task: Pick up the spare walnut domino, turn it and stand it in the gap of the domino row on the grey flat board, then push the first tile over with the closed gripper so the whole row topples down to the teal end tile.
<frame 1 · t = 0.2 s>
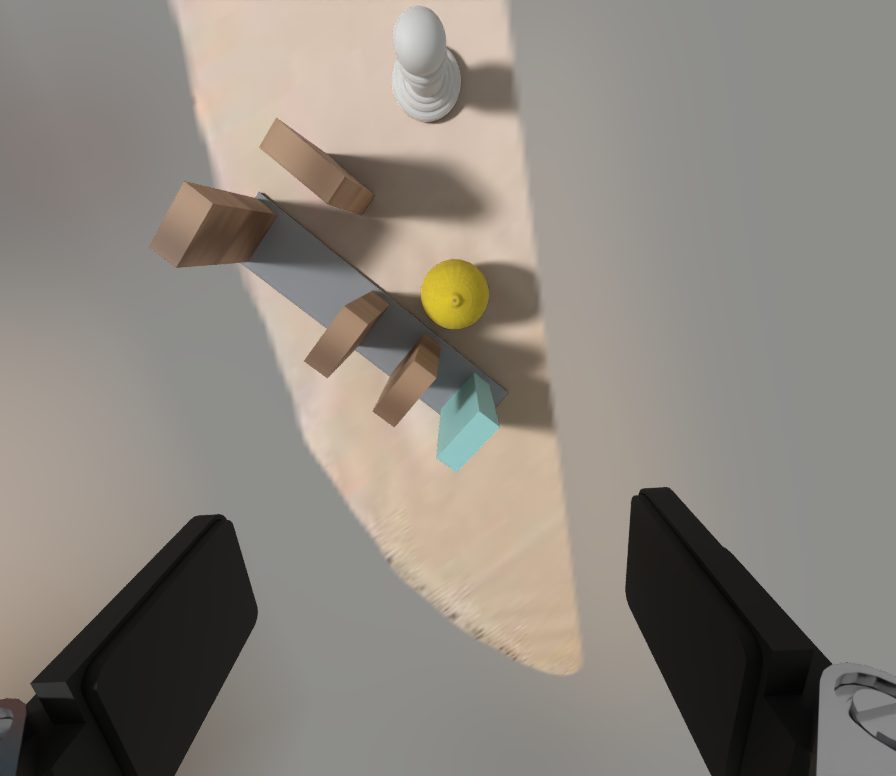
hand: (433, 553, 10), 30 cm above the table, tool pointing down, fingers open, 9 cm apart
lemon: (454, 289, 38), on the table
chess piece: (426, 85, 33), on the table
domino 4: (416, 359, 39), resting on grey flat board
grey flat board: (373, 324, 39), on the table
domino end: (464, 396, 41), resting on grey flat board
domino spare: (344, 184, 35), on the table
domino 1: (252, 231, 36), resting on grey flat board
domino 3: (365, 319, 38), resting on grey flat board
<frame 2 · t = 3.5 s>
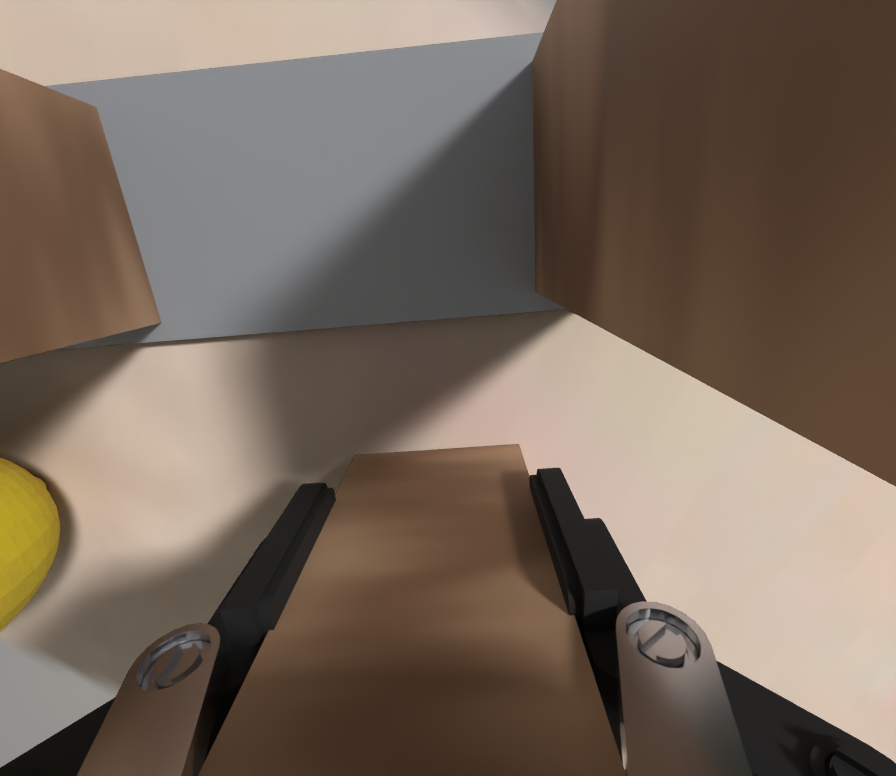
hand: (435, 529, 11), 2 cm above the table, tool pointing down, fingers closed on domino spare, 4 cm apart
lemon: (45, 480, 13), on the table
grey flat board: (69, 230, 11), on the table
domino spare: (439, 478, 13), on the table, touching gripper
domino 1: (576, 182, 10), resting on grey flat board
domino 3: (93, 226, 10), resting on grey flat board
when the fingers open (3 cm above the table, at t = 8.5 s): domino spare stays where it is, resting on grey flat board.
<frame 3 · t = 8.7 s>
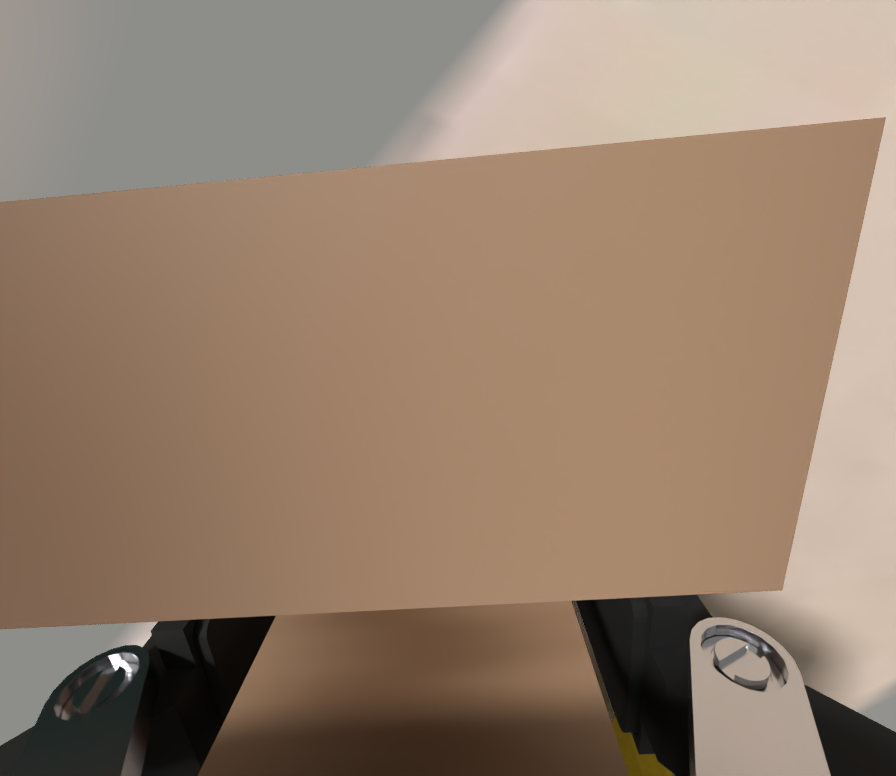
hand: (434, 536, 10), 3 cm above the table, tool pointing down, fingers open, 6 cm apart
lemon: (641, 688, 17), on the table
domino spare: (439, 471, 13), resting on grey flat board
domino 1: (419, 279, 11), resting on grey flat board
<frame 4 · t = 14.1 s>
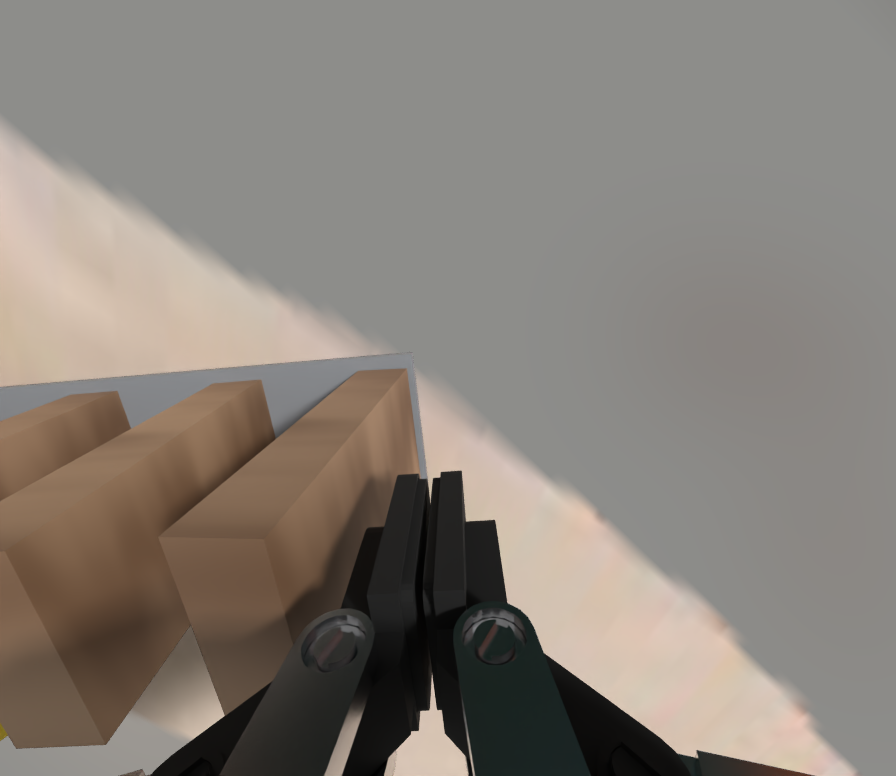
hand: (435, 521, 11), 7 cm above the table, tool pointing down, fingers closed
grey flat board: (100, 445, 18), on the table
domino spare: (251, 437, 17), resting on grey flat board
domino 1: (390, 427, 17), resting on grey flat board, tilted 7°, touching gripper
domino 3: (114, 447, 18), resting on grey flat board
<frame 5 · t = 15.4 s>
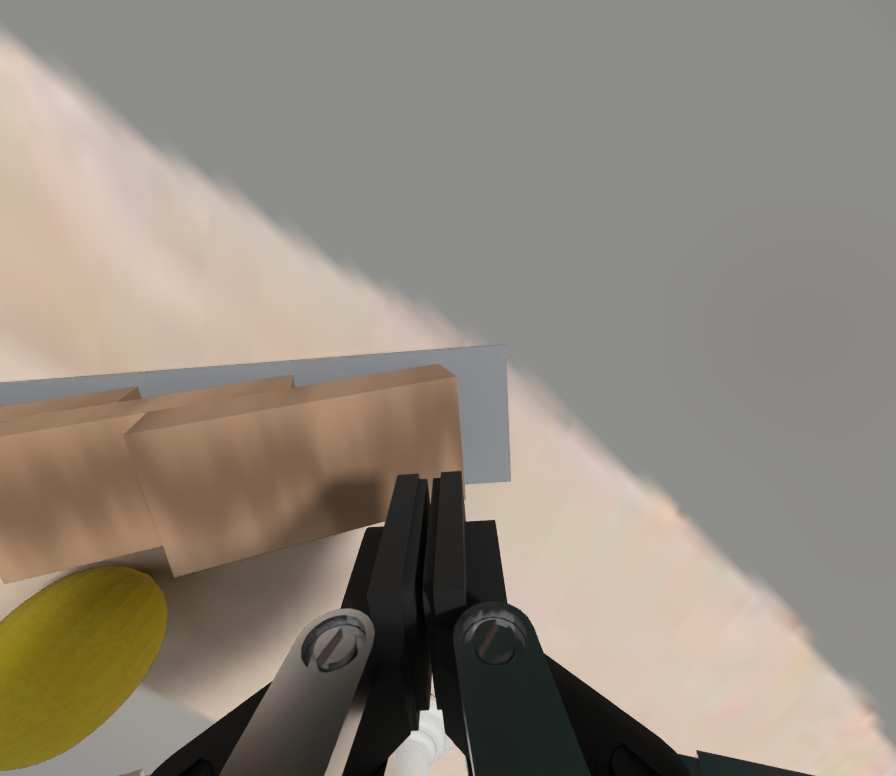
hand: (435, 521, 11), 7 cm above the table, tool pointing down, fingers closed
lemon: (149, 573, 21), on the table
chess piece: (408, 714, 23), on the table
grey flat board: (179, 437, 18), on the table
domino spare: (304, 441, 16), point 1 cm above the table, tilted 71°, touching domino 1, domino 3, grey flat board
domino 1: (452, 431, 16), point 1 cm above the table, tilted 70°, touching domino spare, grey flat board
domino 3: (148, 451, 17), point 1 cm above the table, tilted 70°, touching domino 4, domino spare, grey flat board
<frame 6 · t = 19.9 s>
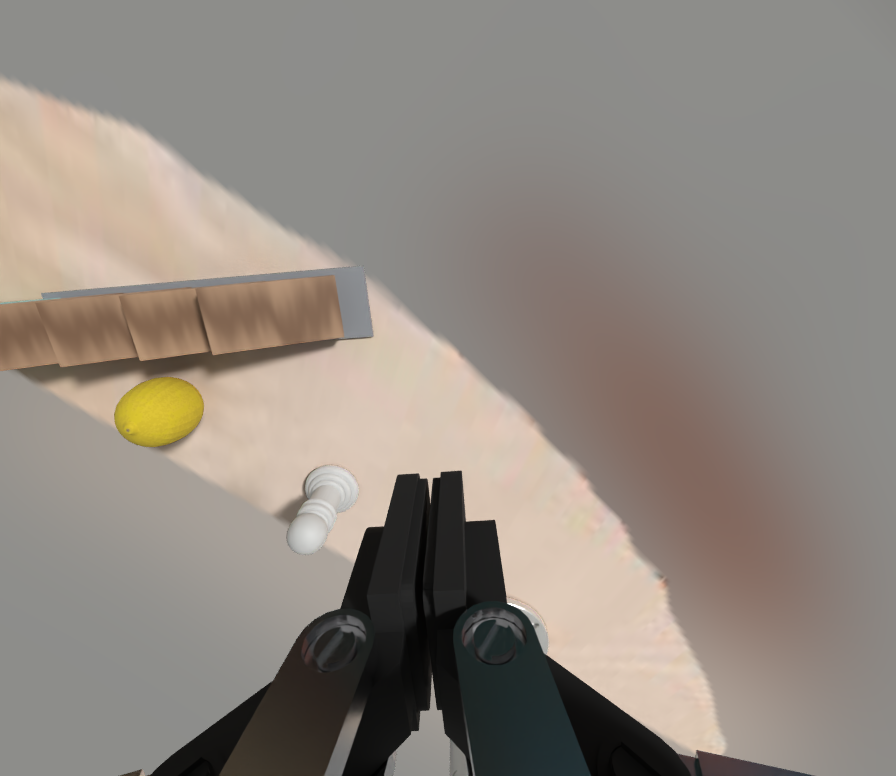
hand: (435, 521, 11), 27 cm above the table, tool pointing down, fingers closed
lemon: (192, 394, 39), on the table
chess piece: (334, 485, 42), on the table
domino 4: (128, 322, 36), point 1 cm above the table, tilted 70°, touching domino 3, domino end, grey flat board
grey flat board: (210, 314, 36), on the table
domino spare: (270, 311, 35), point 1 cm above the table, tilted 71°, touching domino 1, domino 3, grey flat board
domino 1: (338, 305, 35), point 1 cm above the table, tilted 70°, touching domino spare, grey flat board
domino 3: (196, 317, 35), point 1 cm above the table, tilted 70°, touching domino 4, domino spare, grey flat board
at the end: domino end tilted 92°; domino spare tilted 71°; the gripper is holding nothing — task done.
